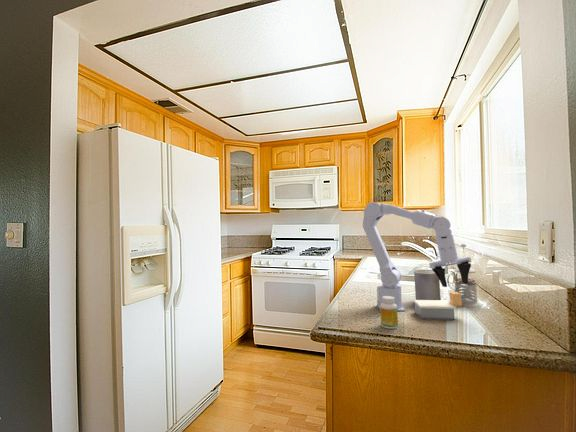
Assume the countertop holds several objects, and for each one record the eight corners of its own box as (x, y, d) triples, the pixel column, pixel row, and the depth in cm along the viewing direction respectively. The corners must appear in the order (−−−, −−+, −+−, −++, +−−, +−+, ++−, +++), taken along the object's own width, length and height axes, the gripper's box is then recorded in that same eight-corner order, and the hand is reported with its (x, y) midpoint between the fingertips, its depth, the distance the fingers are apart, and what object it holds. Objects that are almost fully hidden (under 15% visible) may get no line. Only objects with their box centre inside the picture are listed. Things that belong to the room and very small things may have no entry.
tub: (421, 319, 102) (421, 308, 102) (415, 312, 110) (414, 301, 110) (454, 320, 100) (454, 308, 100) (445, 312, 108) (445, 302, 108)
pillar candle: (427, 299, 127) (425, 265, 128) (446, 304, 118) (444, 268, 119) (410, 302, 124) (408, 267, 124) (428, 308, 115) (426, 270, 115)
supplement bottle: (396, 330, 92) (394, 300, 93) (379, 327, 95) (378, 298, 95) (399, 325, 97) (398, 296, 97) (383, 322, 100) (382, 294, 100)
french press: (479, 307, 113) (476, 244, 114) (446, 303, 120) (443, 244, 121) (481, 301, 121) (478, 243, 122) (450, 298, 128) (447, 242, 129)
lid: (420, 308, 102) (419, 295, 102) (413, 301, 110) (413, 290, 110) (465, 309, 99) (464, 296, 99) (455, 302, 108) (454, 290, 108)
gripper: (432, 251, 102) (441, 289, 101) (472, 245, 102) (481, 283, 101) (424, 251, 109) (431, 286, 108) (461, 245, 109) (469, 280, 108)
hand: (455, 284), depth 105 cm, fingers open, 7 cm apart
